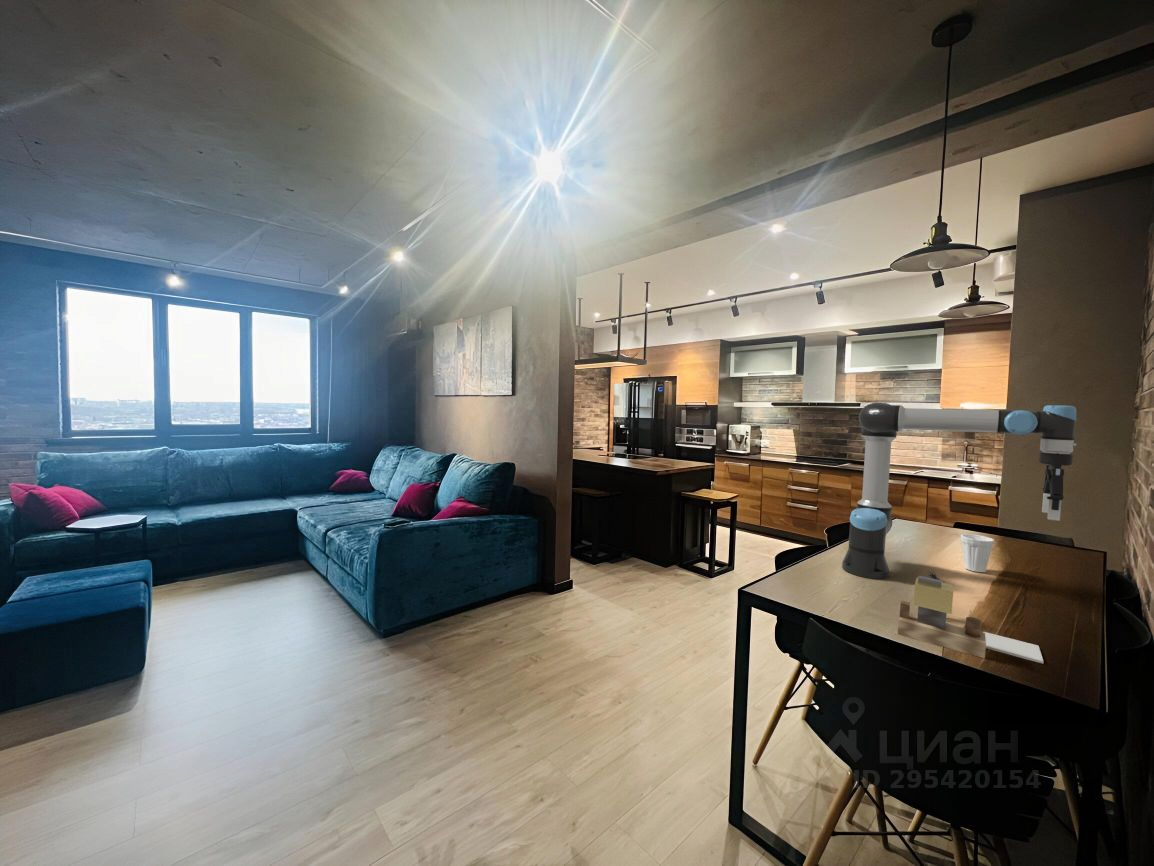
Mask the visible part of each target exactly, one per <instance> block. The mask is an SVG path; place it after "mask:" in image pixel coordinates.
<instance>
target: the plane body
mask: <svg viewBox="0 0 1154 866" xmlns="http://www.w3.org/2000/svg"><path fill="white" fill-rule="evenodd" d="M910 608H911V602H910V601H906V600H901V601H900V608H899V618H898V624H897V635H900V636H904V637H907V638H911V639H915V640H917V641H922V642H924V643H928V644H932V645H935V646H939V647H943V648H946V649H950V650H954V651H956V652H961V653H964V654H968V655H971V656H975V657H979V658H982V659H985V658H986V650H987V648H986V638H985V633H984V632H985V631H982V620H981V619H980V618H976V617H973V616H966V618H965V627H964V626H959V625H956V624H951V623H948V622H947V614H948V613H944V612H940V611H936V610H932V609H928V608H924V607H920V606H917V614H913V613H911V612H910V610H911V609H910Z"/></svg>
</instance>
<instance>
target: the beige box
mask: <svg viewBox="0 0 1154 866" xmlns="http://www.w3.org/2000/svg"><path fill="white" fill-rule="evenodd" d="M942 582H943V580H942V579H940V580H937V579H933V578H929V577H928V576H922V575H918V577H916V579H915V582H914V593H913V606H917V607H918V606H920V607H924V608H928V609H932V610H936V611H940V612H944V613H947V614H950V615H952V612H953V601H954V600H953V599H954V598H953V597H954V584H949V583H945V582H944V583H942Z"/></svg>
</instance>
